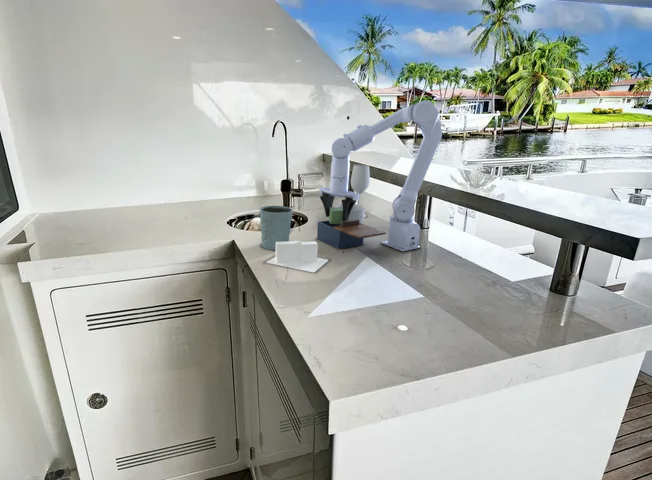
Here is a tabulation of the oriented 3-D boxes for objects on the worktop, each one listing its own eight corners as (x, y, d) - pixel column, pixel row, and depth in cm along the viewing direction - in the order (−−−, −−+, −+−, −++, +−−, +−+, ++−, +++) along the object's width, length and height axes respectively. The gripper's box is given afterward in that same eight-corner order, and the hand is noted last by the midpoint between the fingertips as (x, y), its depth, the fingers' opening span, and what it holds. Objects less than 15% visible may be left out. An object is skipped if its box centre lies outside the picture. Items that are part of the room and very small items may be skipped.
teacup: (365, 231, 139) (367, 210, 136) (335, 230, 139) (337, 209, 136) (359, 221, 152) (361, 202, 149) (332, 220, 152) (333, 201, 149)
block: (344, 224, 124) (345, 210, 123) (330, 224, 124) (331, 210, 123) (341, 220, 129) (342, 207, 127) (328, 220, 128) (329, 207, 127)
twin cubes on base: (265, 262, 107) (265, 243, 105) (283, 251, 116) (283, 233, 114) (314, 272, 101) (315, 252, 99) (329, 259, 110) (330, 240, 108)
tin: (362, 244, 124) (364, 226, 122) (338, 249, 119) (340, 230, 117) (340, 234, 134) (341, 218, 132) (316, 238, 129) (317, 221, 127)
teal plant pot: (253, 245, 121) (253, 208, 117) (275, 238, 128) (276, 203, 124) (276, 253, 114) (276, 214, 110) (298, 245, 122) (299, 209, 118)
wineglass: (367, 218, 157) (372, 166, 150) (349, 217, 157) (353, 166, 150) (364, 213, 164) (369, 164, 158) (347, 213, 165) (350, 164, 158)
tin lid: (385, 234, 115) (386, 227, 114) (359, 238, 110) (359, 231, 109) (358, 224, 125) (359, 217, 124) (333, 228, 120) (333, 221, 119)
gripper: (365, 178, 120) (362, 220, 124) (329, 173, 129) (326, 212, 133) (353, 180, 115) (349, 224, 119) (316, 175, 124) (314, 215, 128)
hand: (336, 218), depth 126 cm, fingers closed on block, 6 cm apart
